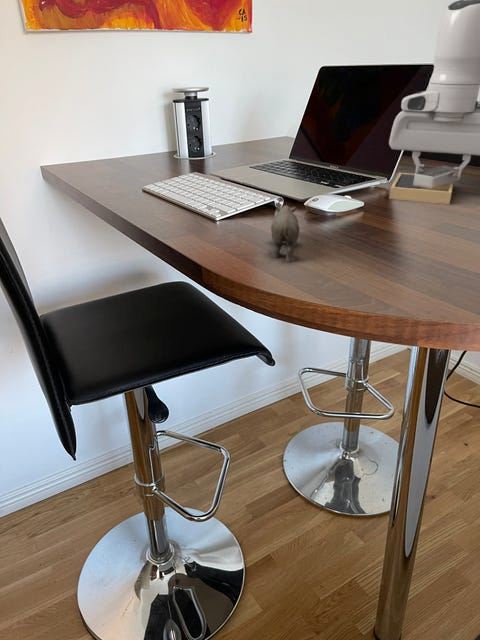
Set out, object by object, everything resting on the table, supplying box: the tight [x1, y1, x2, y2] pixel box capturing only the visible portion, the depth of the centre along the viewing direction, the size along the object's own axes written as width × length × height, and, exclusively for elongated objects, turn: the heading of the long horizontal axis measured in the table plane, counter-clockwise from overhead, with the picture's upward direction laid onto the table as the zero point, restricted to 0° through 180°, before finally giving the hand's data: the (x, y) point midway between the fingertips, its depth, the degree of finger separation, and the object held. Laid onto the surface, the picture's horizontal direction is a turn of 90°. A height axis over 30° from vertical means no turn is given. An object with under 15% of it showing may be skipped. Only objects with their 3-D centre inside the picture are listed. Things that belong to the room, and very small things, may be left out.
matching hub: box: [396, 174, 420, 189], centre depth 103 cm, size 11×4×2 cm, turn 158°
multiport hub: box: [413, 165, 461, 189], centre depth 100 cm, size 4×11×2 cm, turn 131°
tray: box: [388, 172, 454, 205], centre depth 102 cm, size 14×11×2 cm
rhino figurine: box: [270, 204, 300, 263], centre depth 75 cm, size 4×14×6 cm, turn 175°
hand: (437, 175), depth 100 cm, fingers closed on multiport hub, 6 cm apart
